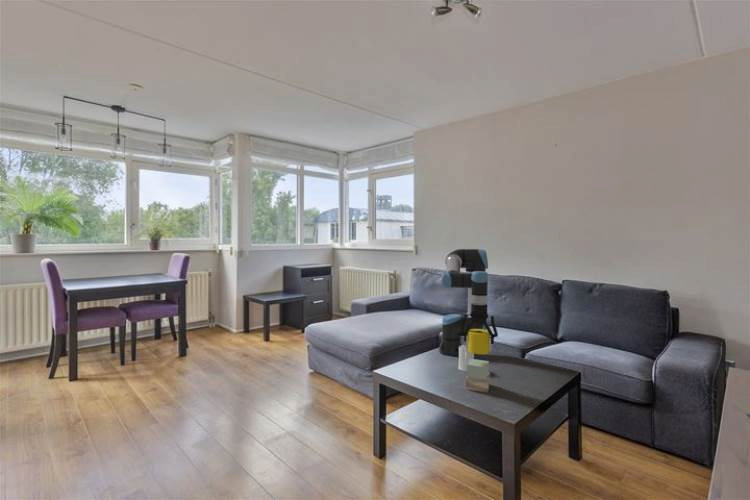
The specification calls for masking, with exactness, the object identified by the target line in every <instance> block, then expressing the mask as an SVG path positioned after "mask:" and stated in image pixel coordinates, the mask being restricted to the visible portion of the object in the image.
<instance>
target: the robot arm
mask: <svg viewBox="0 0 750 500" xmlns="http://www.w3.org/2000/svg"><path fill="white" fill-rule="evenodd" d="M444 260H445V261H444V265H445V266H446V269H445V272H443V273H441V287H443V288H448V289H450V288H453V289H455V288H457V289H459V288H460V289H461V288H462V289H467V312H465V314H464V317H463V316H462V314H459V313H458V314H457V313H451V314H446V315H444V316H443V317H442V322H441V325H442V328H441V329H442V330H441V332H442V333H441V335H442V336H441V342H440V344H439V347H438V349H439V351H438V352H439V353H440V354H442V355H444V356H445V355H446V356H451V357H457V356H458V357H459V346H462V345H463V343H462V337H463V342H466V343H465V345H466V349H468V331H469V330H470V329H483V330H487V331H488V333H489V334H490V337H489V351H490V352H489V353H491V352H492V345H494V343H495V338H498V336H499V334H498V330H497V326H496V323H495V315H494V314H493V315H489V313H488V298H489V297H488V291H489V288H488V287H489V275H488V274H489V273H488V272H487V271H486V270H487V269H489V261H488V260H489V259H488V254H487V251H486V250H485V249H483V248H480V249H479V248H458V249H455V250H453V251H451V252H450V253H448V255H446V258H445V259H444ZM461 269H465V272H466V273H465V272H461ZM488 319H489V321H490V322H491V326H492V329H491V327H490V325H489V323H488ZM492 330H493V331H492Z"/></svg>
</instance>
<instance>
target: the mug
mask: <svg viewBox="0 0 750 500" xmlns="http://www.w3.org/2000/svg"><path fill="white" fill-rule="evenodd" d="M470 359H475V354H474V353H471V352H469V351H468V349H466V344H465V345H464V344H462V346H459V356H458V367H457V368H458V370H460V371H462V372H466V373H467V364H468V362H469V360H470Z"/></svg>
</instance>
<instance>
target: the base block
mask: <svg viewBox="0 0 750 500" xmlns="http://www.w3.org/2000/svg"><path fill="white" fill-rule="evenodd" d="M490 385H491V373H490V372H489V374H488V377H487V379H486V380H483V379H477V378H471V377H467V375H466V376H465V390H467V391H469V390H470V391H474V392H475V391H476V392H480V393H486V394H488V393H489V389H490Z"/></svg>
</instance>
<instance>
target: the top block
mask: <svg viewBox="0 0 750 500" xmlns="http://www.w3.org/2000/svg"><path fill="white" fill-rule="evenodd" d="M489 373H490V361H489V360H482V359H477V358H476V359H475V358H474V359H470V360H469V362H468V364H467V372H466V376H467V377H471V378H477V379H483V380H486V379H487V377H488V374H489Z"/></svg>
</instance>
